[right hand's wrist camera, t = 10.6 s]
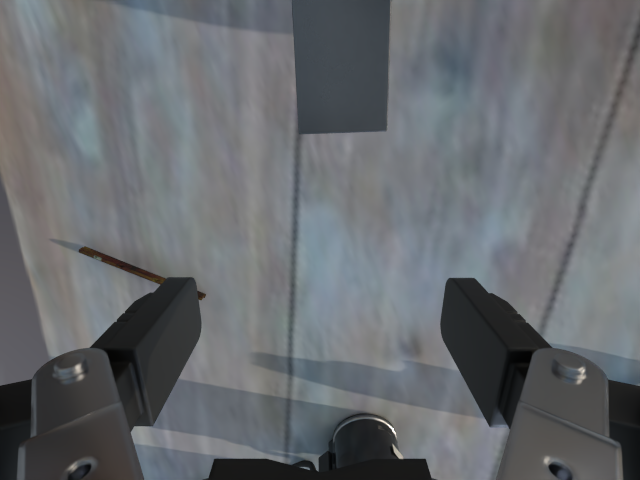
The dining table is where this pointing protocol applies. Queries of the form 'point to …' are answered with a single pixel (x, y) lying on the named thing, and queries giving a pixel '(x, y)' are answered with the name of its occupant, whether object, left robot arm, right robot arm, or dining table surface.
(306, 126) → the bar
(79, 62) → the dining table surface
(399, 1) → the dining table surface
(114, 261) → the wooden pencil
